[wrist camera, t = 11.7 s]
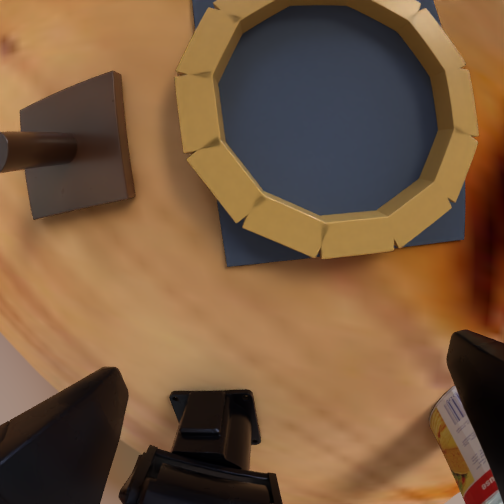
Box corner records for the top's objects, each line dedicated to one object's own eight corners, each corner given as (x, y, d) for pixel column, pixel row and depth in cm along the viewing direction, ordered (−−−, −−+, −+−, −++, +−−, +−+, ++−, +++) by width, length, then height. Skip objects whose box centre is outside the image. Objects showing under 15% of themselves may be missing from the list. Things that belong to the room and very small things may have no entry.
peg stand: (136, 196, 18) (68, 221, 11) (42, 216, 19) (-31, 245, 12) (121, 74, 16) (52, 41, 9) (29, 111, 17) (-46, 107, 9)
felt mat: (462, 238, 18) (464, 239, 18) (227, 265, 19) (227, 267, 19) (427, -10, 13) (429, -11, 13) (192, -10, 14) (190, -12, 14)
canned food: (446, 439, 24) (484, 521, 13) (415, 417, 23) (459, 518, 11) (501, 390, 22) (554, 464, 11) (480, 359, 21) (549, 448, 10)
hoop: (464, 232, 18) (480, 240, 16) (208, 261, 19) (202, 272, 17) (430, -6, 13) (443, -17, 11) (175, -2, 14) (166, -16, 12)
